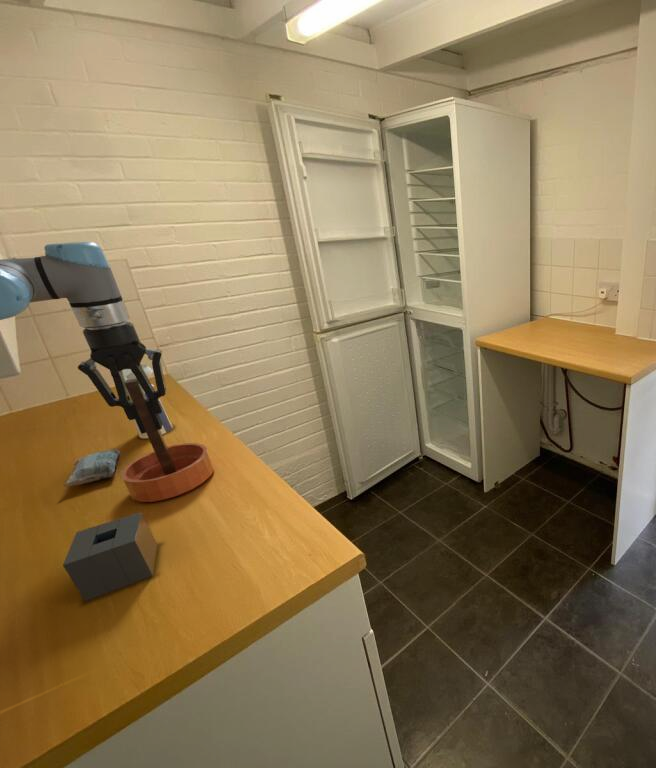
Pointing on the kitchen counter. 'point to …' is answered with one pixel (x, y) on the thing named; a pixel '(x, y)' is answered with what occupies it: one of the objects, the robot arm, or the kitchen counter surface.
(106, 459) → the packaged food
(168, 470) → the wooden stick
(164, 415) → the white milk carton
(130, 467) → the bowl
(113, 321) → the robot arm
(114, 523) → the stick holder
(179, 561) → the kitchen counter surface
